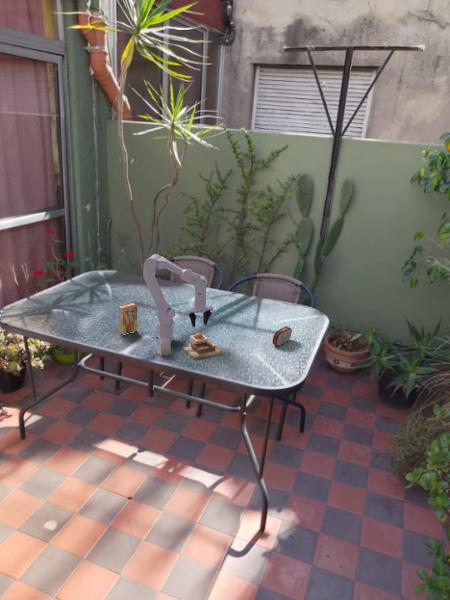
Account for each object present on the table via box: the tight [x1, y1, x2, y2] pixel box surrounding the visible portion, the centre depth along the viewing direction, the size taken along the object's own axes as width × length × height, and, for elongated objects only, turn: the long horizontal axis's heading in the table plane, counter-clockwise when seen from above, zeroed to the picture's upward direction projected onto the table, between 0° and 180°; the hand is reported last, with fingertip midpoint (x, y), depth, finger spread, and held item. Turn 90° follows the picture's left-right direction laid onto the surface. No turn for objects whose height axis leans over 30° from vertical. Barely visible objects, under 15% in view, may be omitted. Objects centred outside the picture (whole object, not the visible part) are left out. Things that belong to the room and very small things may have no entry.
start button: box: [194, 332, 204, 340], centre depth 229 cm, size 4×4×4 cm
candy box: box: [118, 302, 138, 334], centre depth 234 cm, size 9×4×15 cm, turn 137°
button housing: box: [189, 334, 209, 344], centre depth 229 cm, size 7×7×3 cm
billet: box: [157, 338, 172, 357], centre depth 215 cm, size 4×5×7 cm
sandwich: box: [272, 325, 293, 347], centre depth 233 cm, size 15×3×8 cm, turn 141°
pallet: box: [182, 340, 224, 361], centre depth 220 cm, size 12×16×3 cm
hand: (199, 325), depth 227 cm, fingers open, 6 cm apart
